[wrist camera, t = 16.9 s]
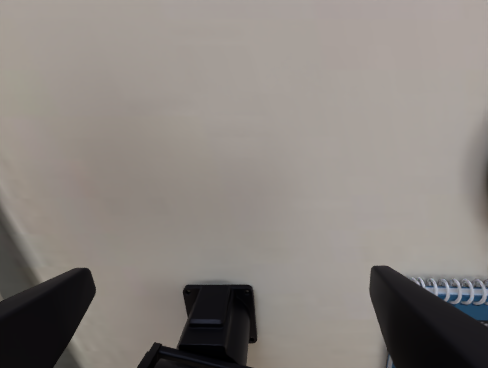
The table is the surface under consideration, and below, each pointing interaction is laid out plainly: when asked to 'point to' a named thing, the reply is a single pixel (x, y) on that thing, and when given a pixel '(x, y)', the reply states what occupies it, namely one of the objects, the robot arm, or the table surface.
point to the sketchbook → (459, 298)
